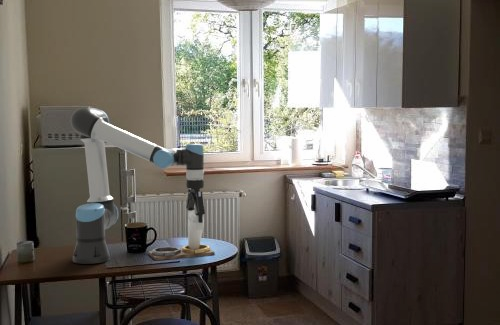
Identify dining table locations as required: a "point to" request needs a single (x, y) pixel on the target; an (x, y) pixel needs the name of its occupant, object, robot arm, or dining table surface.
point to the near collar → (174, 250)
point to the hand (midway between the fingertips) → (195, 227)
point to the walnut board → (180, 255)
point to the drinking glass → (194, 233)
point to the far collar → (189, 250)
